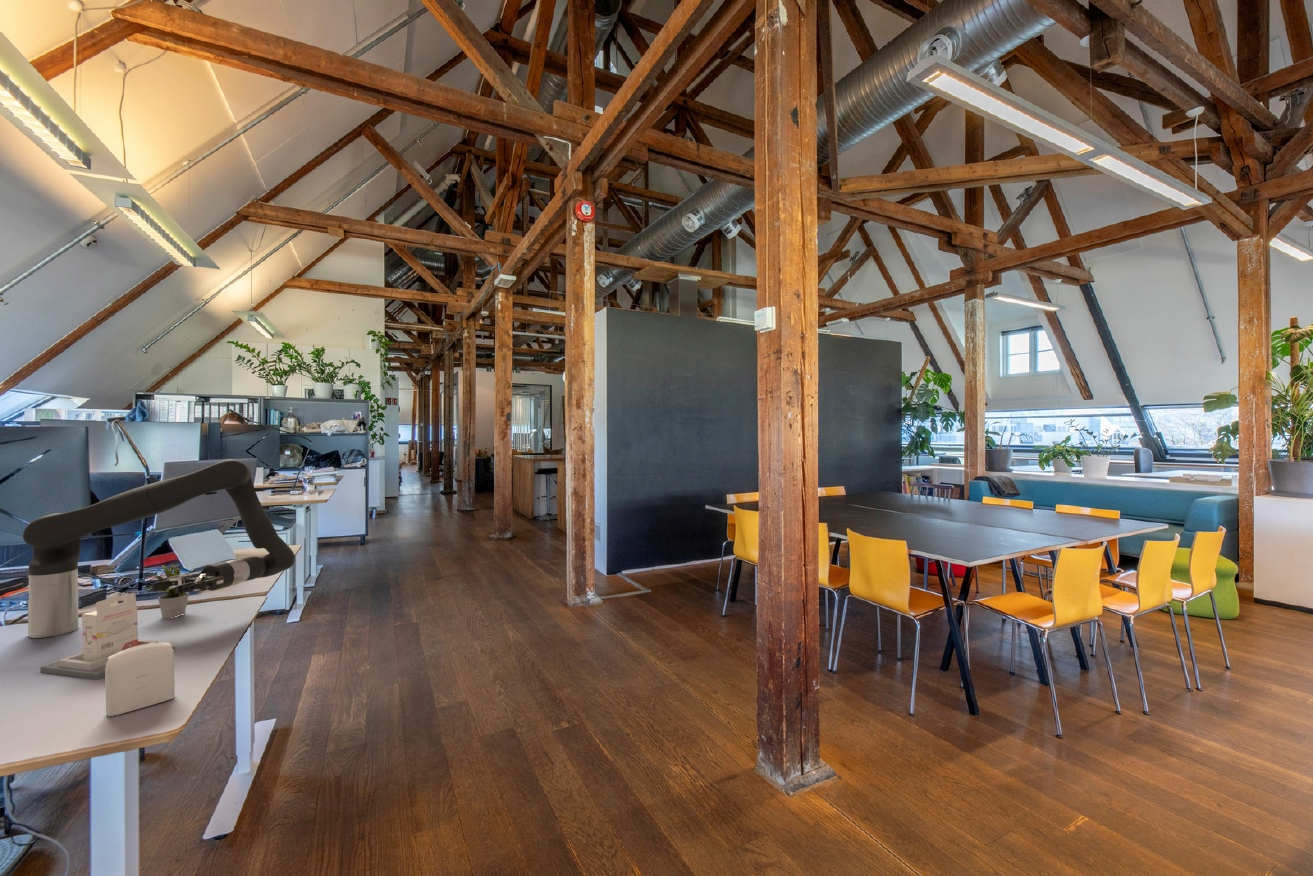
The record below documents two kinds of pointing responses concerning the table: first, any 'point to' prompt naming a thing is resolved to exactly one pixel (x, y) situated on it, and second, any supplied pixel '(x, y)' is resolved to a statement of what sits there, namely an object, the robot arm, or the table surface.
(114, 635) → the ink cartridge box
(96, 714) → the table surface
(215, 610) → the table surface
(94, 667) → the refill dock
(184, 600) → the house plant
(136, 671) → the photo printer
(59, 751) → the table surface
